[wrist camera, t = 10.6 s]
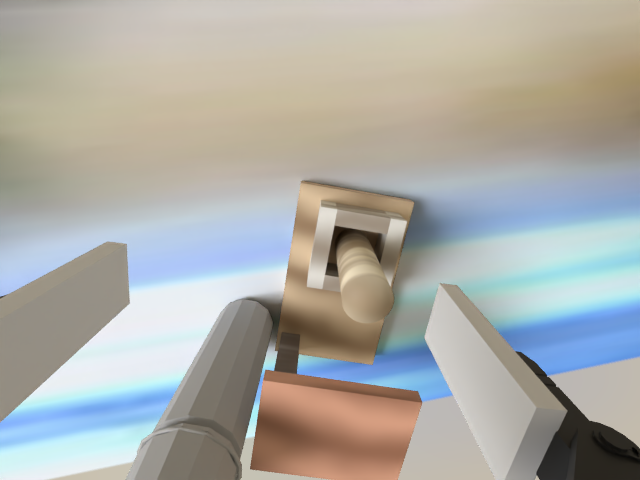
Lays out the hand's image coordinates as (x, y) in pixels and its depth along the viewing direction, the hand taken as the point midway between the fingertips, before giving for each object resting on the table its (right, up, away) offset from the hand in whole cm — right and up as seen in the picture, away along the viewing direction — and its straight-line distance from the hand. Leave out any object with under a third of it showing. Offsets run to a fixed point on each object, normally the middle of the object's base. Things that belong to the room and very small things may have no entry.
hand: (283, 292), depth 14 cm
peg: (+5, +2, +25) cm, 26 cm away
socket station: (+4, -2, +28) cm, 28 cm away
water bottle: (-9, -9, +30) cm, 33 cm away
